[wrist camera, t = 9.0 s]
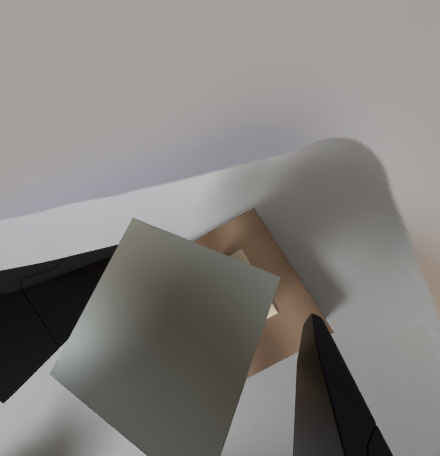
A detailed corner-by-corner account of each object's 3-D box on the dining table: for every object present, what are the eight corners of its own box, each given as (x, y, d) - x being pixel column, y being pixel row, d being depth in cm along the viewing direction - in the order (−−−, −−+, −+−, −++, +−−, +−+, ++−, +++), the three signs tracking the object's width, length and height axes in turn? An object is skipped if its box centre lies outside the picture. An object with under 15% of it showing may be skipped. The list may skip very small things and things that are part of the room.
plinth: (206, 384, 17) (196, 406, 14) (162, 268, 21) (147, 266, 18) (320, 324, 17) (335, 333, 14) (254, 218, 21) (253, 207, 18)
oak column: (243, 335, 15) (204, 503, 4) (194, 309, 16) (49, 374, 5) (262, 280, 16) (280, 277, 4) (214, 260, 17) (132, 218, 6)
